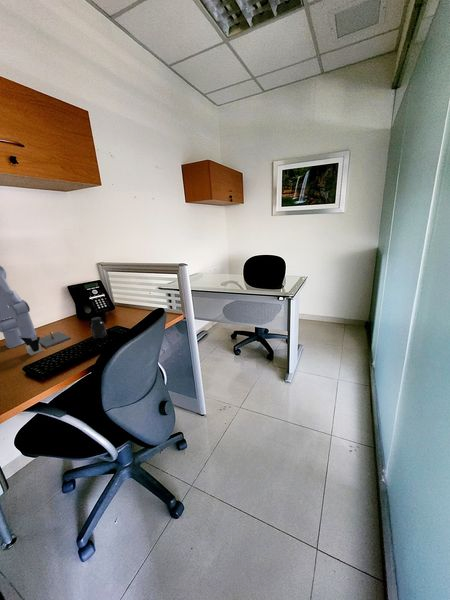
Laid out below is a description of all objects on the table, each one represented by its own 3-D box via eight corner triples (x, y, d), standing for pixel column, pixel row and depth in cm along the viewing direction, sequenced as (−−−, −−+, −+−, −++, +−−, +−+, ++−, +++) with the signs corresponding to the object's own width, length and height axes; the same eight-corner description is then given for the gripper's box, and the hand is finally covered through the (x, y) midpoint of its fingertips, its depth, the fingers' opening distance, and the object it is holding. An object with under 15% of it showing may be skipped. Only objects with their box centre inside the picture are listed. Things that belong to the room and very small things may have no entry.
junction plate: (35, 341, 135) (33, 333, 134) (59, 333, 145) (56, 325, 143) (47, 348, 126) (44, 339, 125) (70, 338, 136) (68, 330, 134)
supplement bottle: (108, 338, 132) (103, 318, 129) (94, 342, 129) (88, 322, 125) (106, 334, 138) (102, 315, 134) (93, 337, 135) (88, 318, 131)
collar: (27, 353, 123) (25, 346, 121) (39, 348, 127) (36, 342, 125) (31, 355, 120) (28, 348, 119) (42, 350, 124) (40, 344, 123)
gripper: (11, 326, 120) (20, 349, 124) (20, 331, 111) (30, 356, 116) (27, 320, 125) (36, 343, 129) (38, 326, 117) (46, 350, 121)
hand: (34, 349), depth 123 cm, fingers closed on collar, 5 cm apart
